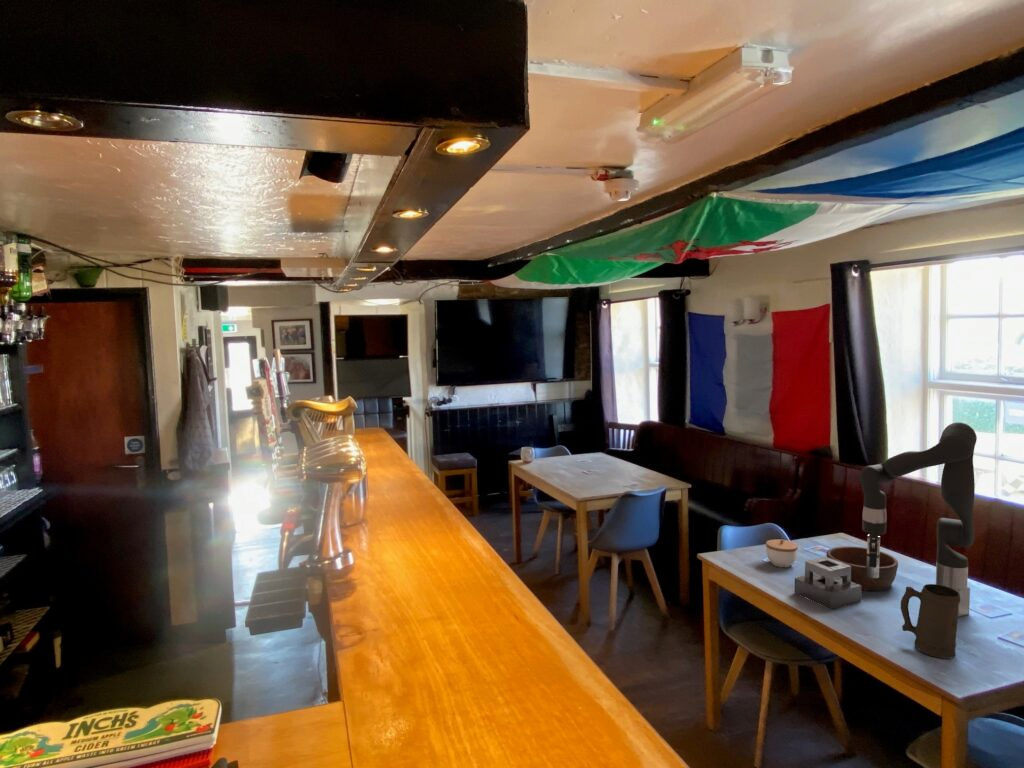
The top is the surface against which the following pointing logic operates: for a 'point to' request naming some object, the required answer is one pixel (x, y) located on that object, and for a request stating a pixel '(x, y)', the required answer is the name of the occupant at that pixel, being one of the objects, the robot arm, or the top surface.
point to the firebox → (828, 583)
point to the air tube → (872, 571)
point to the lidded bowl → (781, 552)
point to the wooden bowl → (865, 566)
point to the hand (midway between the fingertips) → (873, 564)
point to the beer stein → (933, 619)
